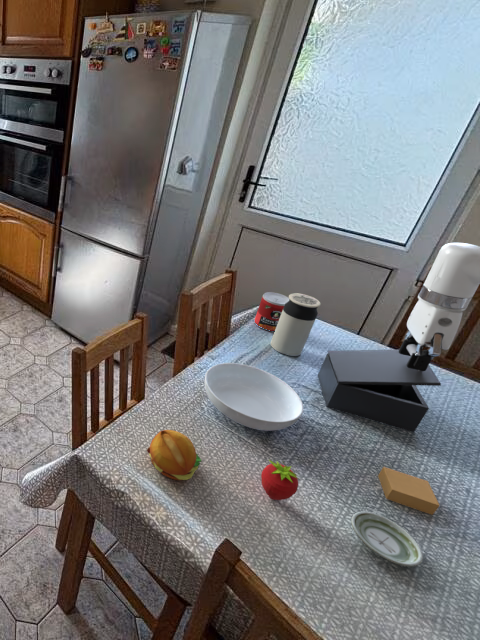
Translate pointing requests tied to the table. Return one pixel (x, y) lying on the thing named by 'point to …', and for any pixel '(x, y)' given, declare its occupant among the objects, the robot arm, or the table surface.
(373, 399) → the lidded storage box
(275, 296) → the canned food
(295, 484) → the strawberry
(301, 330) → the travel mug
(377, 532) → the saucer
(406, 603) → the table surface
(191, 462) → the cheeseburger
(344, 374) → the lid
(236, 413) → the serving bowl
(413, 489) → the brown rectangular block
